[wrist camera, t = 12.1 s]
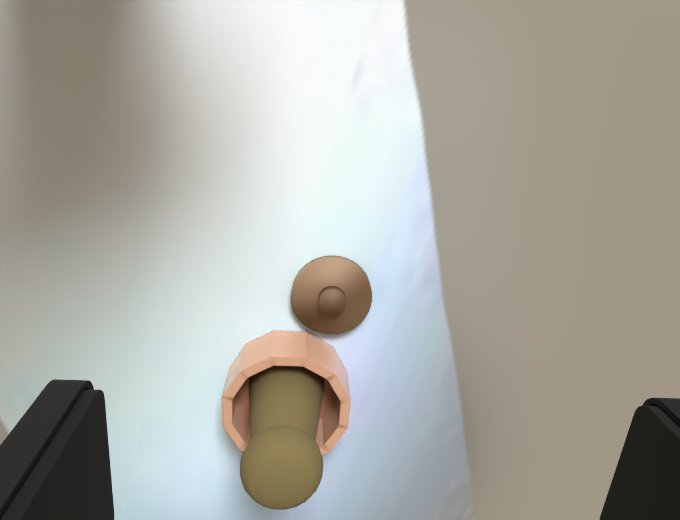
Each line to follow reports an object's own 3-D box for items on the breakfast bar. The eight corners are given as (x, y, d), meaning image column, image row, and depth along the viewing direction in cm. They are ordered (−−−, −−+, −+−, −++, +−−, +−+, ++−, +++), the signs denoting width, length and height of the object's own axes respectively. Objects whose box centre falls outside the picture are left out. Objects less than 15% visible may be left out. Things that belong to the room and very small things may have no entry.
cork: (332, 359, 42) (341, 454, 32) (315, 422, 44) (318, 532, 33) (256, 344, 41) (239, 437, 31) (241, 410, 43) (221, 518, 33)
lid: (275, 287, 41) (273, 300, 38) (336, 239, 39) (337, 249, 37) (326, 340, 42) (327, 354, 40) (386, 295, 41) (389, 308, 39)
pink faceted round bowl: (229, 329, 41) (222, 355, 37) (349, 333, 42) (354, 359, 38) (229, 429, 44) (222, 463, 40) (341, 431, 45) (344, 465, 41)
